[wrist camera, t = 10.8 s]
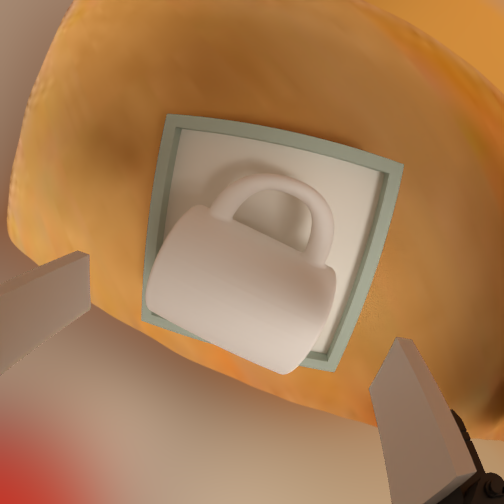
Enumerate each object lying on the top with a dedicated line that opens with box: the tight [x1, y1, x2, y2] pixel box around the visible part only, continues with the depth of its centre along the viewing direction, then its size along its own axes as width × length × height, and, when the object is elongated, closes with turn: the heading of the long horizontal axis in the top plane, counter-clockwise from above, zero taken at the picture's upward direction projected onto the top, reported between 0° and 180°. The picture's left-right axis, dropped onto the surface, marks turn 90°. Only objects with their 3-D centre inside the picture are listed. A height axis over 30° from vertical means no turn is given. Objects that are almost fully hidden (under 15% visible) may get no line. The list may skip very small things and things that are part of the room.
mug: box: [145, 173, 336, 374], centre depth 18 cm, size 12×10×8 cm
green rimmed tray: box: [141, 114, 404, 372], centre depth 24 cm, size 18×18×7 cm
